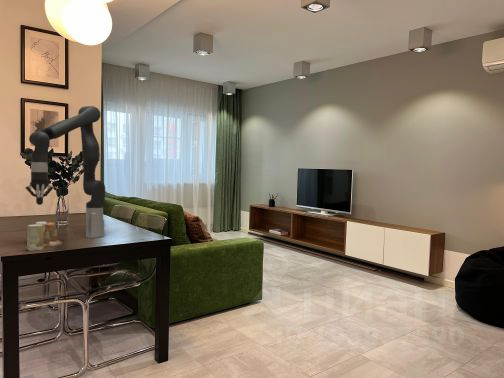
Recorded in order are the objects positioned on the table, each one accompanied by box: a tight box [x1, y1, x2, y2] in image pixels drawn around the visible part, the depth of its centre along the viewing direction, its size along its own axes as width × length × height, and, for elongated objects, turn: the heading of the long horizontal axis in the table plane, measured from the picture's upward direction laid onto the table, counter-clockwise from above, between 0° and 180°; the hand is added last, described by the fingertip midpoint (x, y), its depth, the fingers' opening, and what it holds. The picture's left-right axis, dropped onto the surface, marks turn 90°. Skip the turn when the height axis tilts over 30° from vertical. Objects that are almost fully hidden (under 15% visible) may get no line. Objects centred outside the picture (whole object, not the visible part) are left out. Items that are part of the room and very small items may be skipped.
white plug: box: [35, 220, 48, 232], centre depth 192 cm, size 5×5×7 cm
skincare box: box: [26, 224, 44, 252], centre depth 183 cm, size 6×4×12 cm
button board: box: [25, 227, 63, 248], centre depth 197 cm, size 13×17×7 cm
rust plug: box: [45, 221, 55, 231], centre depth 199 cm, size 5×5×7 cm
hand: (39, 204), depth 192 cm, fingers closed
